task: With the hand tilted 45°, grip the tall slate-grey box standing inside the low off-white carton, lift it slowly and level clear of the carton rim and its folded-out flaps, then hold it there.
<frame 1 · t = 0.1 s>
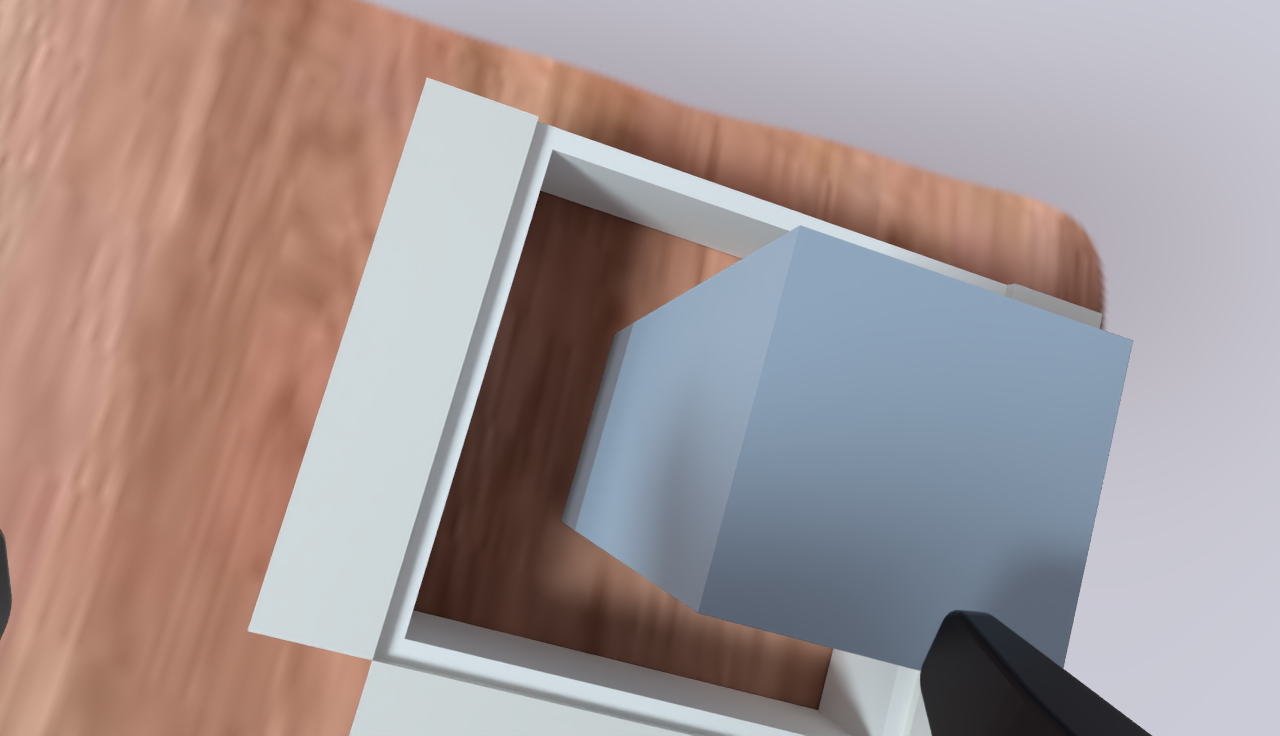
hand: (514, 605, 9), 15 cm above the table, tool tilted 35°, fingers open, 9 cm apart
carton: (679, 452, 25), on the table
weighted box: (761, 457, 19), in the carton
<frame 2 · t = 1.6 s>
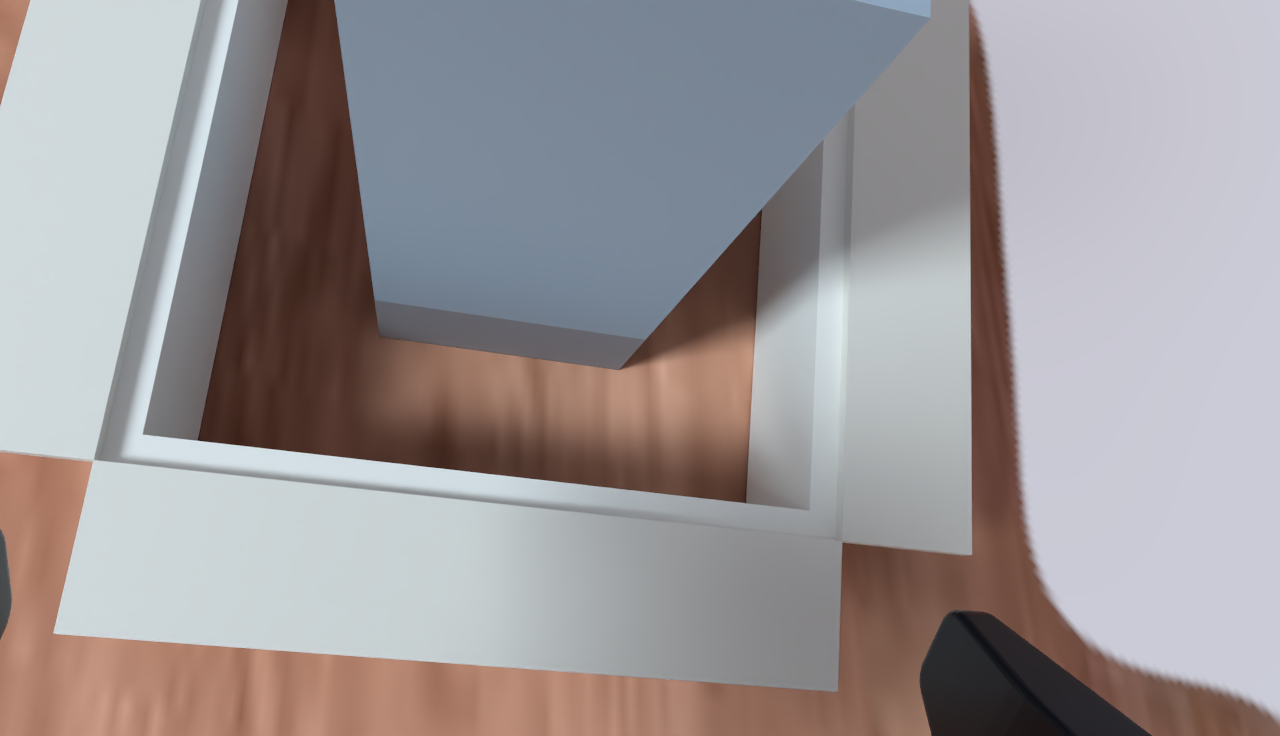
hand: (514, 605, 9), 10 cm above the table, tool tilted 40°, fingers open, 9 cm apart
carton: (516, 241, 20), on the table
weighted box: (559, 89, 14), in the carton
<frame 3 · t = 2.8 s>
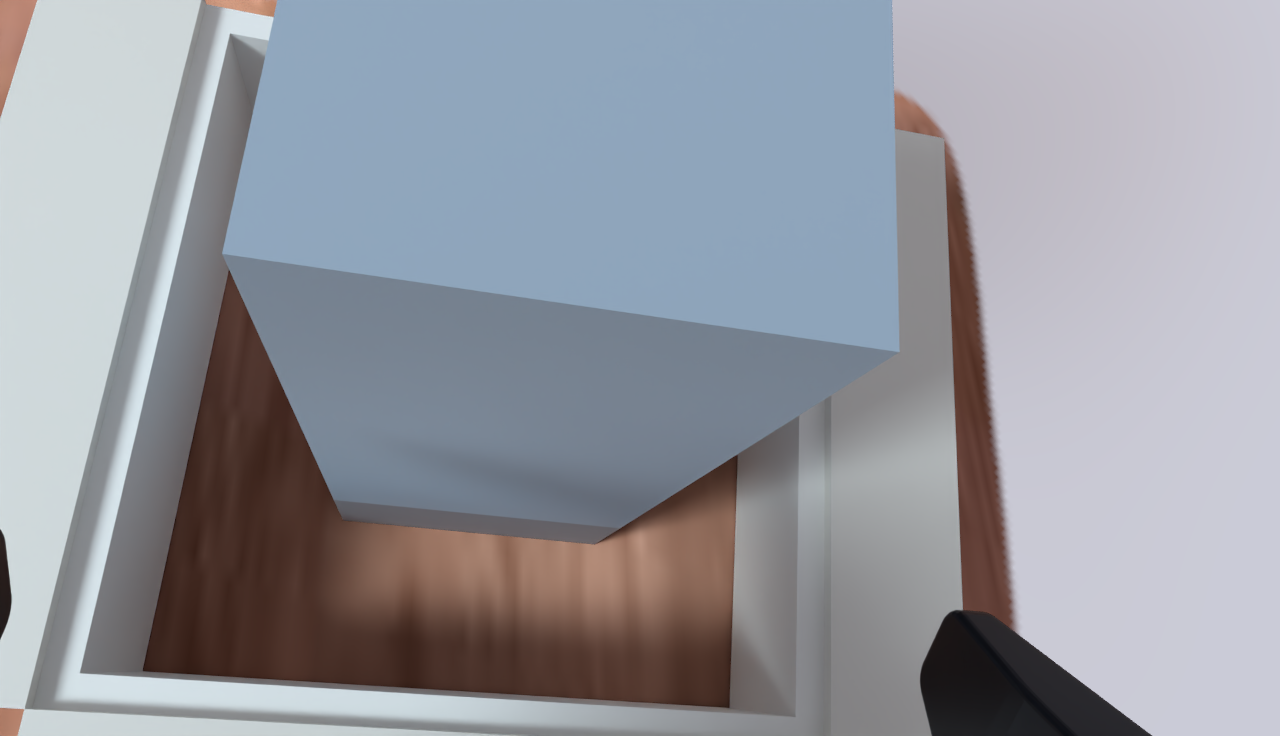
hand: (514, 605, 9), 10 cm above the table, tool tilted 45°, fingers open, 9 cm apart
carton: (486, 411, 20), on the table
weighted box: (521, 302, 14), in the carton
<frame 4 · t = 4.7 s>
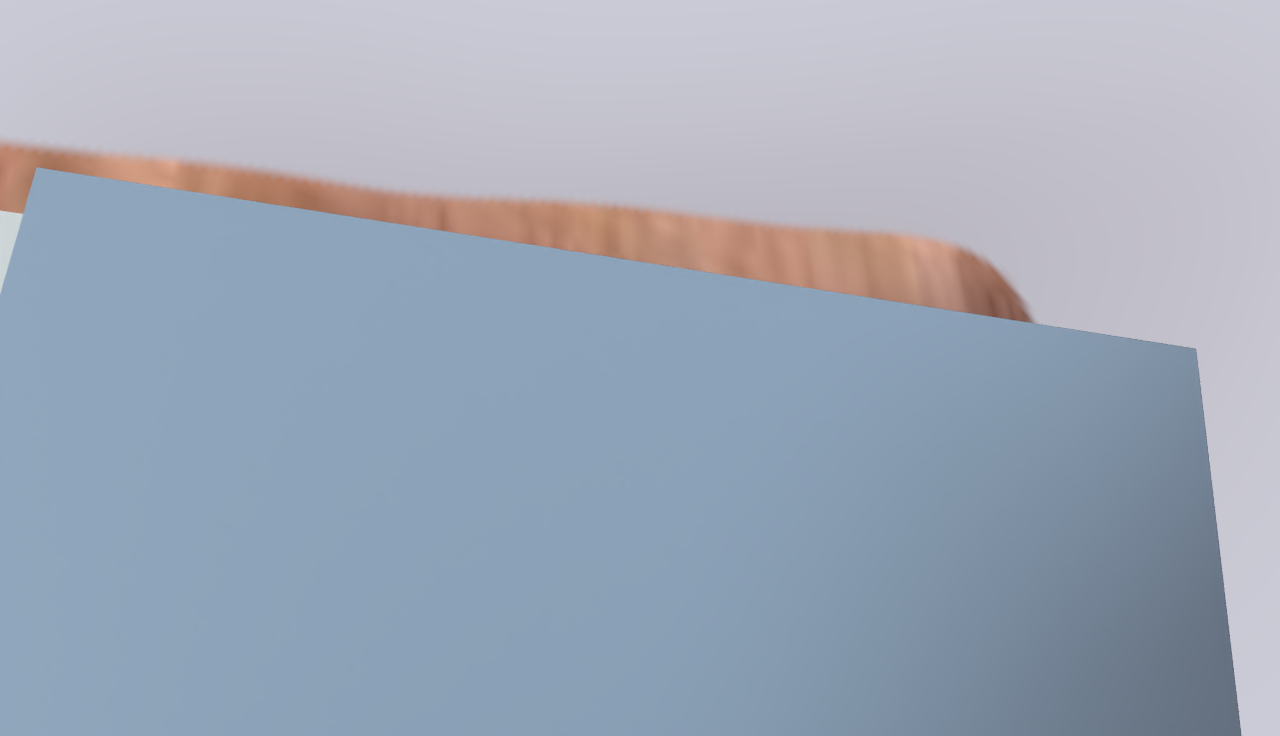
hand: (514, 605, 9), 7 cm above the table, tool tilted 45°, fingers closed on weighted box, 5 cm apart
carton: (459, 716, 15), on the table
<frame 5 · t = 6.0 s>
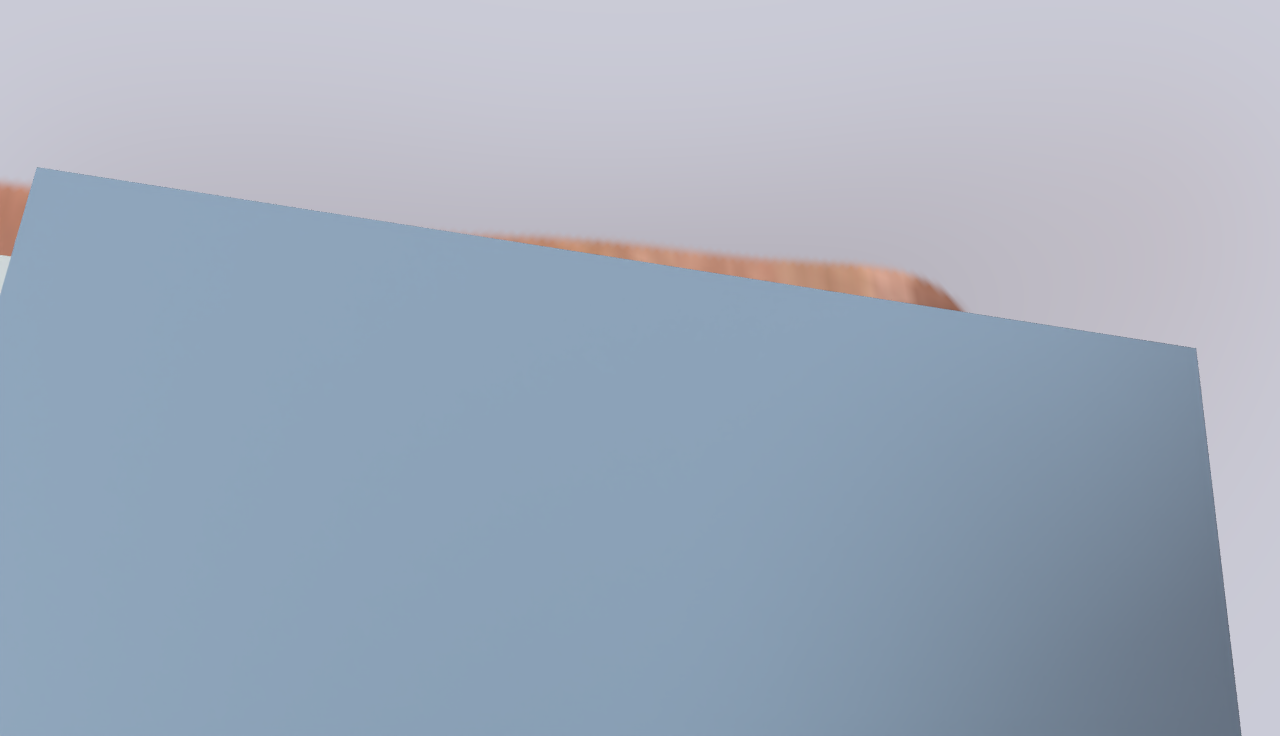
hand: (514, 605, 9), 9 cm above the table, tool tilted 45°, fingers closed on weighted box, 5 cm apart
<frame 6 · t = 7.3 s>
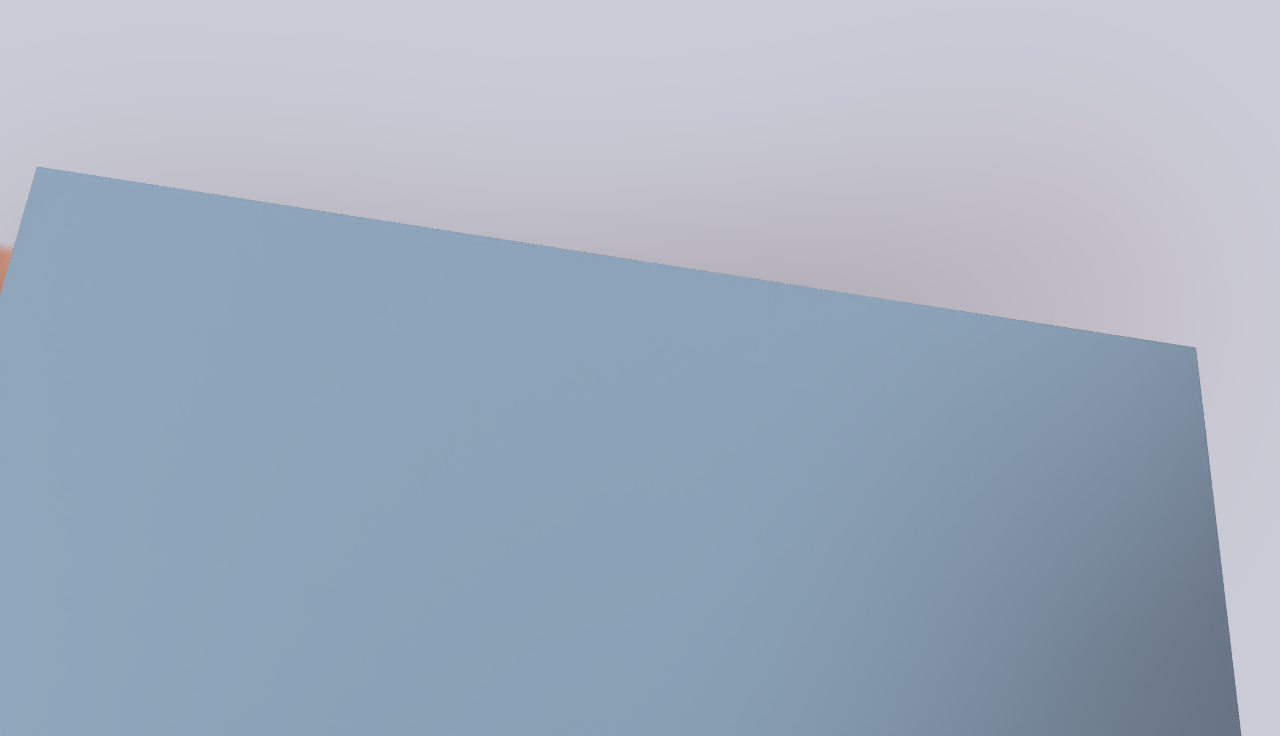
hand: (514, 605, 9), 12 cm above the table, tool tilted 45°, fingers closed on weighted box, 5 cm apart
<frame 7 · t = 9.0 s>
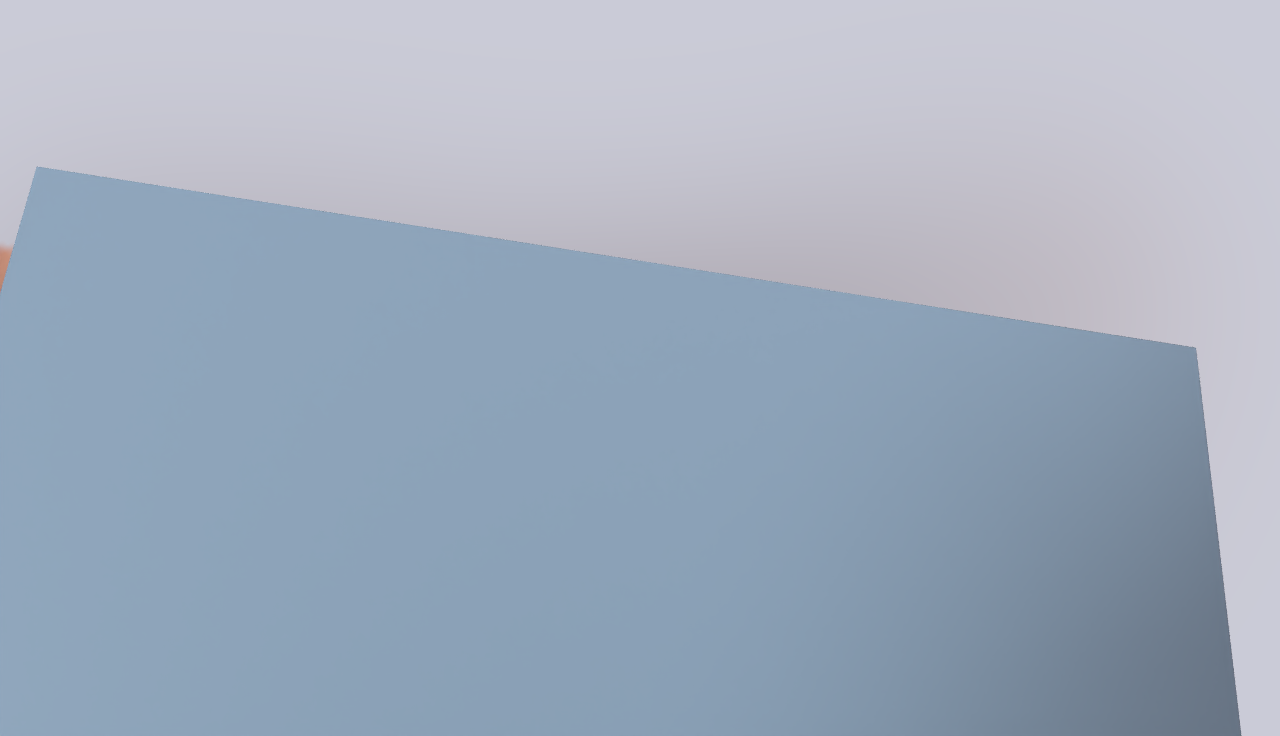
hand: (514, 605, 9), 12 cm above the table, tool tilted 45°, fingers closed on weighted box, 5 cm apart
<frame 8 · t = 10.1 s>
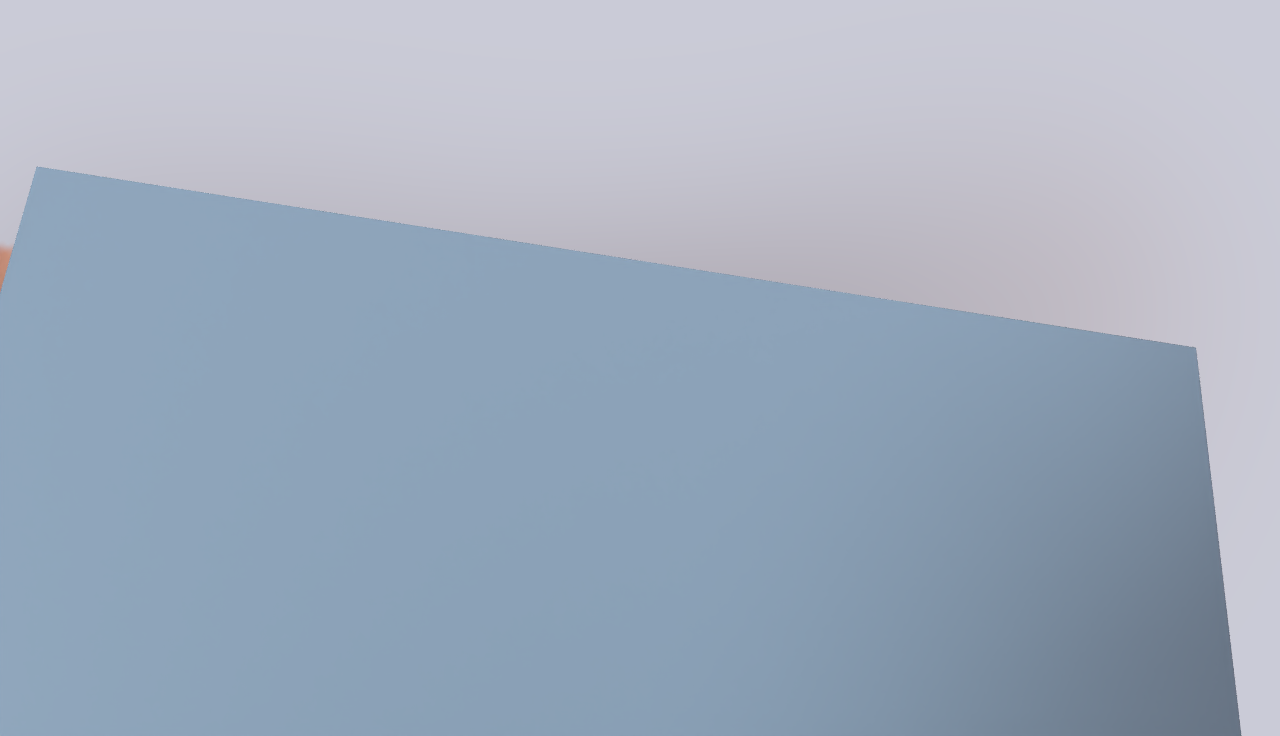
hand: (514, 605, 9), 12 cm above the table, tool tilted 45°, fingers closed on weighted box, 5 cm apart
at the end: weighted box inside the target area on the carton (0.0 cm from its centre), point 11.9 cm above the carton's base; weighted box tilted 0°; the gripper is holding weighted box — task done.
